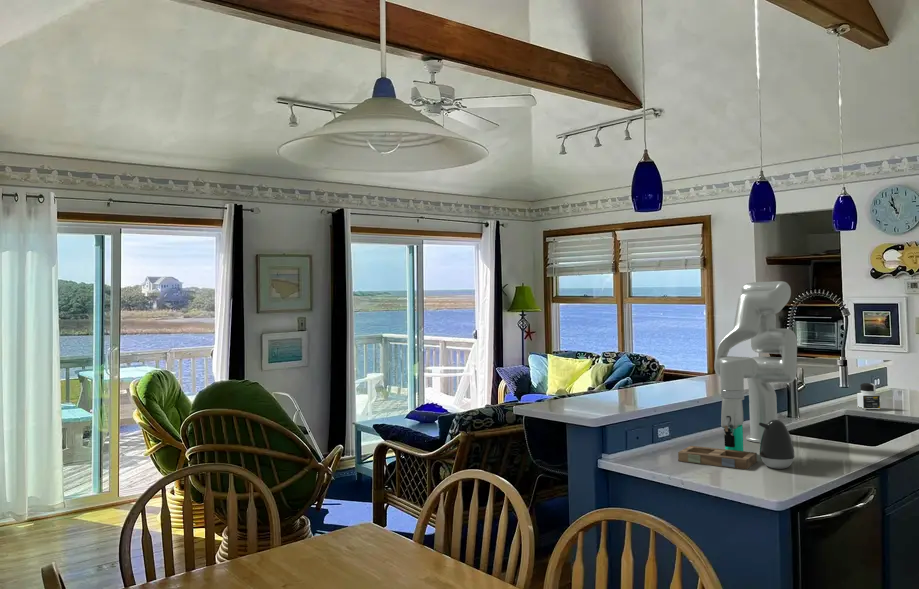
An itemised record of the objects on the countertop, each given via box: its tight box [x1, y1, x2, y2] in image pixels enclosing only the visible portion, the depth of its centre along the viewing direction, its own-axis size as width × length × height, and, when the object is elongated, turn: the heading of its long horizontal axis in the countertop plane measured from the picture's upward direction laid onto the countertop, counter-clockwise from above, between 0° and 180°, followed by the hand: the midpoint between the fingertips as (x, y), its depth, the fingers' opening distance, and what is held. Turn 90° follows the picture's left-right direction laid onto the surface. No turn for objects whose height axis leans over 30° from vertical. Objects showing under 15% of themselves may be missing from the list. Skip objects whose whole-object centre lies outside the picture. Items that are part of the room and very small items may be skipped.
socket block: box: [677, 445, 758, 470], centre depth 228 cm, size 12×22×3 cm, turn 52°
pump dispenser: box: [759, 419, 796, 470], centre depth 219 cm, size 10×10×15 cm
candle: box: [724, 424, 744, 451], centre depth 237 cm, size 6×6×12 cm
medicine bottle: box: [856, 382, 881, 409], centre depth 319 cm, size 7×7×12 cm
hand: (734, 444), depth 237 cm, fingers open, 9 cm apart
